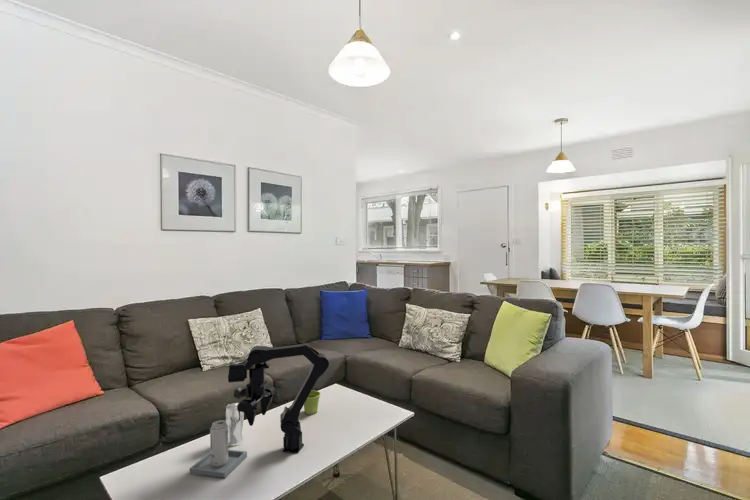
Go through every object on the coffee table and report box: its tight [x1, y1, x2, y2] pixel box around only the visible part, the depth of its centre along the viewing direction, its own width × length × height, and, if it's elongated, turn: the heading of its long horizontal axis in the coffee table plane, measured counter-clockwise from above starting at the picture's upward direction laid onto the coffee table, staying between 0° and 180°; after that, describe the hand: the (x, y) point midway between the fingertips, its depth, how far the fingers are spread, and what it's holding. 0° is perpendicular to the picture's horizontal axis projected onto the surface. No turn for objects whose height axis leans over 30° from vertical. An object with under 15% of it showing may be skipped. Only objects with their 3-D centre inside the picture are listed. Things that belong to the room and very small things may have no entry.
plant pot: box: [303, 390, 321, 415], centre depth 183 cm, size 9×9×9 cm
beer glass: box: [225, 402, 245, 447], centre depth 155 cm, size 7×7×15 cm
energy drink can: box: [209, 419, 229, 468], centre depth 138 cm, size 6×6×15 cm
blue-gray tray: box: [188, 449, 248, 480], centre depth 138 cm, size 14×14×2 cm
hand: (257, 420), depth 146 cm, fingers open, 9 cm apart
